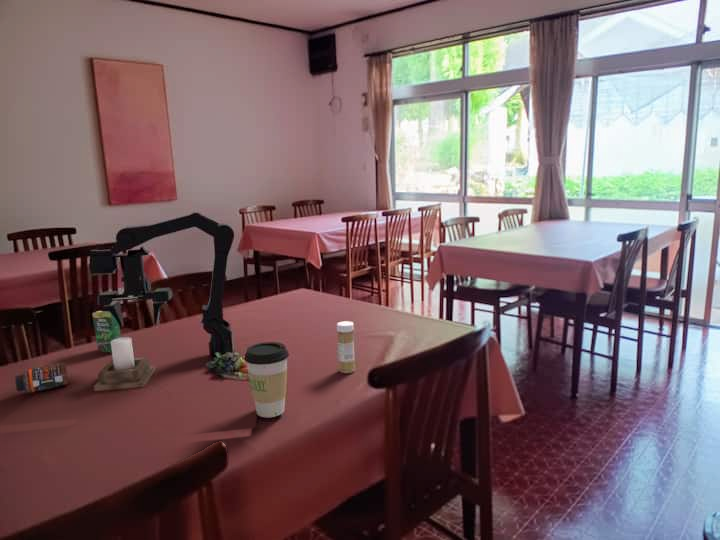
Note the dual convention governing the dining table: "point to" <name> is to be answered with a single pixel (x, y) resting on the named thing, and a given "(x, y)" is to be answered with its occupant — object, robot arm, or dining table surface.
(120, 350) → the white tapered cylinder
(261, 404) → the coffee cup
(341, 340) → the sprinkles bottle
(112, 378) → the holder
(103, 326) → the coffee box
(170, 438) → the dining table surface
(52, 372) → the supplement bottle
